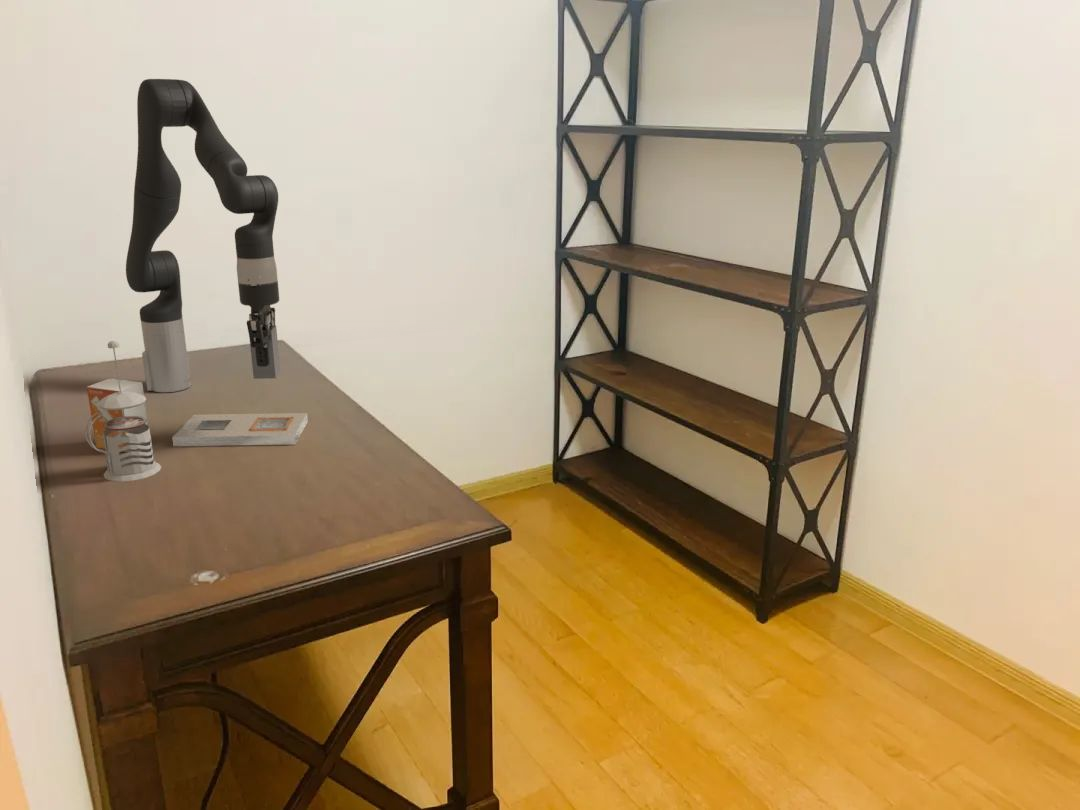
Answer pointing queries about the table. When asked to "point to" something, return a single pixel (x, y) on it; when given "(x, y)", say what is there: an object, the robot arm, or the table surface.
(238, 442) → the rail plate
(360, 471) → the table surface
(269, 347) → the block with round knob
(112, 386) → the small box
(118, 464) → the french press
